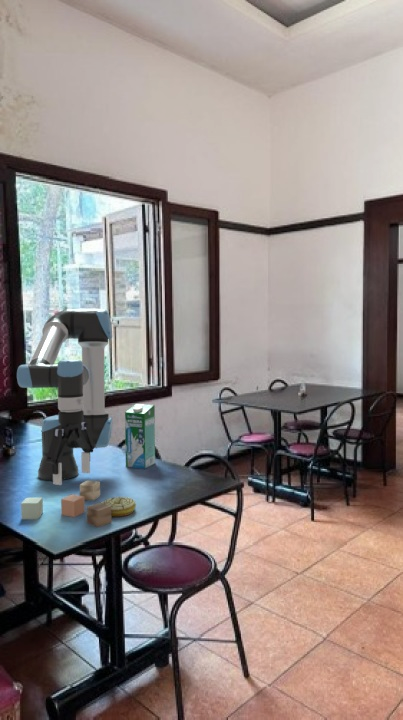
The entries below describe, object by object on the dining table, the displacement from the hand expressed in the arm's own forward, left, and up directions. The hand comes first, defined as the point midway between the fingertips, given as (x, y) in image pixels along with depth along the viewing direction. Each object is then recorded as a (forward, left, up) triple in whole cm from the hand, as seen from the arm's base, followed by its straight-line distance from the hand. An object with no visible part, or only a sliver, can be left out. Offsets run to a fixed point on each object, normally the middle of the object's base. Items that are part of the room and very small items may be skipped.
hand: (72, 478), depth 159 cm
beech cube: (-4, +14, -11) cm, 19 cm away
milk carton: (-9, +55, -11) cm, 57 cm away
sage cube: (-10, -7, -11) cm, 17 cm away
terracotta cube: (0, 0, -11) cm, 11 cm away
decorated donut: (+12, +7, -12) cm, 18 cm away
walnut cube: (+12, -3, -11) cm, 17 cm away
